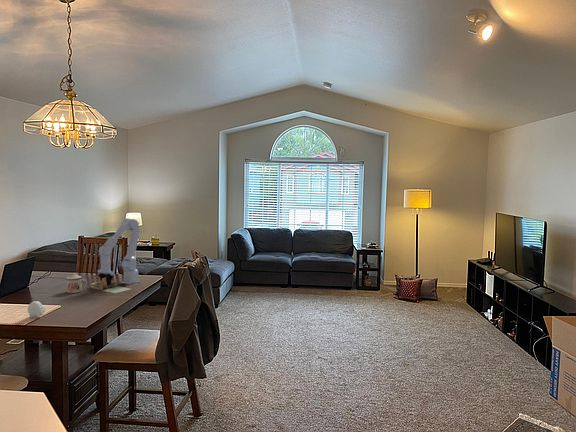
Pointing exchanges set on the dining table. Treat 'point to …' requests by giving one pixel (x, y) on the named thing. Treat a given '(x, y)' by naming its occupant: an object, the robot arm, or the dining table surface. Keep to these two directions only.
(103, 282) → the terracotta jug
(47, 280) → the dining table surface
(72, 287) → the teacup with lid
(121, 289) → the felt mat
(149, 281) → the dining table surface
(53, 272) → the dining table surface
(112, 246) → the robot arm
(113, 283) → the frame
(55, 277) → the dining table surface
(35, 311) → the white lumpy piece
